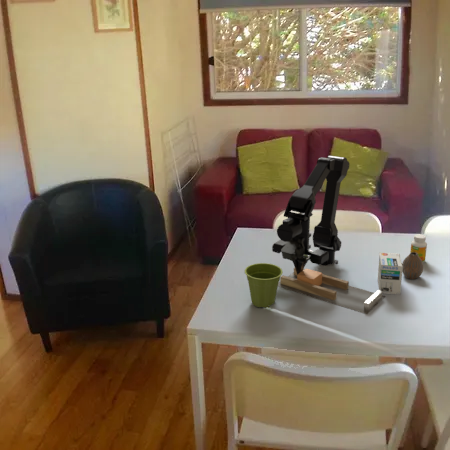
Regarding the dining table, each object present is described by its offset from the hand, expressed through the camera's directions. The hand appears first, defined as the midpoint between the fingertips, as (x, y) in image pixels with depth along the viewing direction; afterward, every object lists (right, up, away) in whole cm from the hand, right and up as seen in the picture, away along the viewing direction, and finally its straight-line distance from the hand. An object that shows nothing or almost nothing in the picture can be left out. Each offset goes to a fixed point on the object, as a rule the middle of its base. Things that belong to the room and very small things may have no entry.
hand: (299, 274), depth 181 cm
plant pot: (-13, -8, -11) cm, 18 cm away
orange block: (+3, -3, -1) cm, 5 cm away
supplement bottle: (+46, +3, +16) cm, 49 cm away
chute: (+9, -5, -5) cm, 12 cm away
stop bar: (+21, -8, -15) cm, 27 cm away
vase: (+39, -1, +4) cm, 40 cm away
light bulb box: (+29, -4, -4) cm, 30 cm away
